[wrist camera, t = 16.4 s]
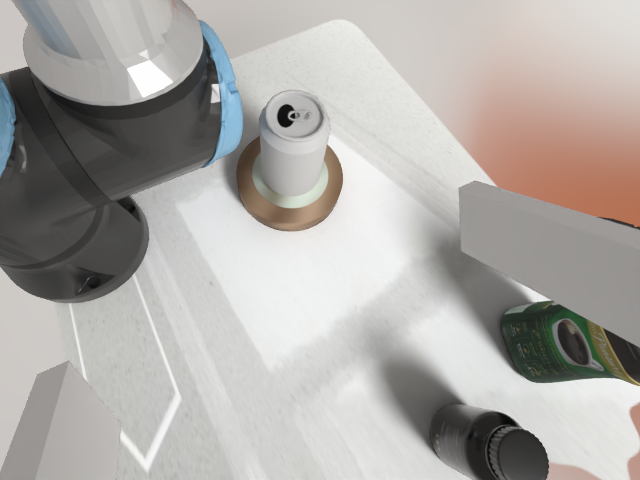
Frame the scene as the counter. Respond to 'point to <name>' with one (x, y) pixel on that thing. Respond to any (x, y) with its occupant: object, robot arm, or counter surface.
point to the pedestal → (287, 209)
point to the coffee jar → (566, 346)
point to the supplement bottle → (487, 445)
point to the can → (293, 141)
